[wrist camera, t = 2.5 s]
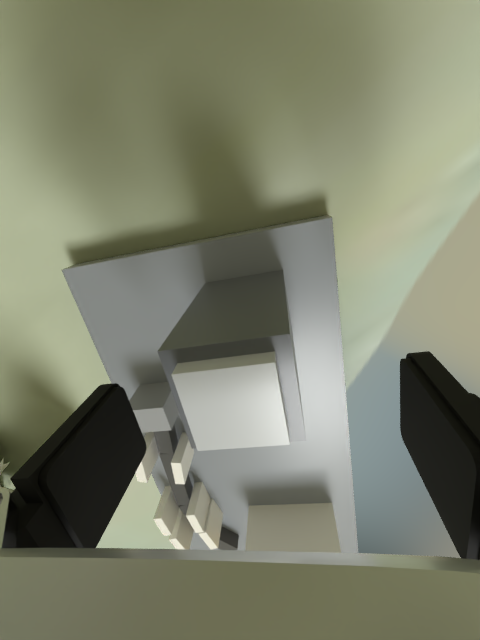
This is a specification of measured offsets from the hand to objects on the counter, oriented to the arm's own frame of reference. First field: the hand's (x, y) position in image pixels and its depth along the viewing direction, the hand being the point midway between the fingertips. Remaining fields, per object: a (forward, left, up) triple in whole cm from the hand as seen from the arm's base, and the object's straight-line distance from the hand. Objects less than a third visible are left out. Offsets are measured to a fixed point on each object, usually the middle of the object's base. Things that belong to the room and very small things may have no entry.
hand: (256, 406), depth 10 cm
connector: (-1, -1, -7) cm, 7 cm away
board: (+9, -3, -8) cm, 12 cm away
